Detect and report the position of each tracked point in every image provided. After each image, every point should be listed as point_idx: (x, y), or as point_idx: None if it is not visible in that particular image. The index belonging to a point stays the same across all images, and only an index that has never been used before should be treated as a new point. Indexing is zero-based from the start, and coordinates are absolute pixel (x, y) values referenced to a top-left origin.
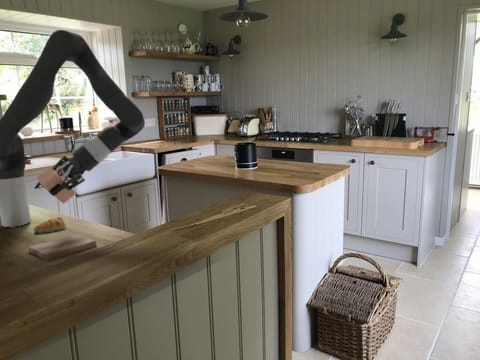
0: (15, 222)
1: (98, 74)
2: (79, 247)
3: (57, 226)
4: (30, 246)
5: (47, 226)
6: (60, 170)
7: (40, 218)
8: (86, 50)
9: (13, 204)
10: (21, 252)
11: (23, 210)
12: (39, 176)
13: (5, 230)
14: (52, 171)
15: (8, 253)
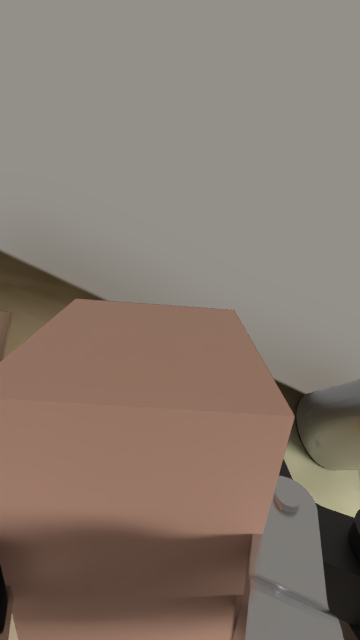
0: (307, 413)
1: None
2: None
3: None
4: (6, 317)
5: None
6: (243, 634)
7: (351, 510)
8: None
9: (358, 403)
10: (34, 308)
11: (342, 437)
12: (225, 318)
13: (284, 385)
14: (123, 395)
15: (65, 289)
